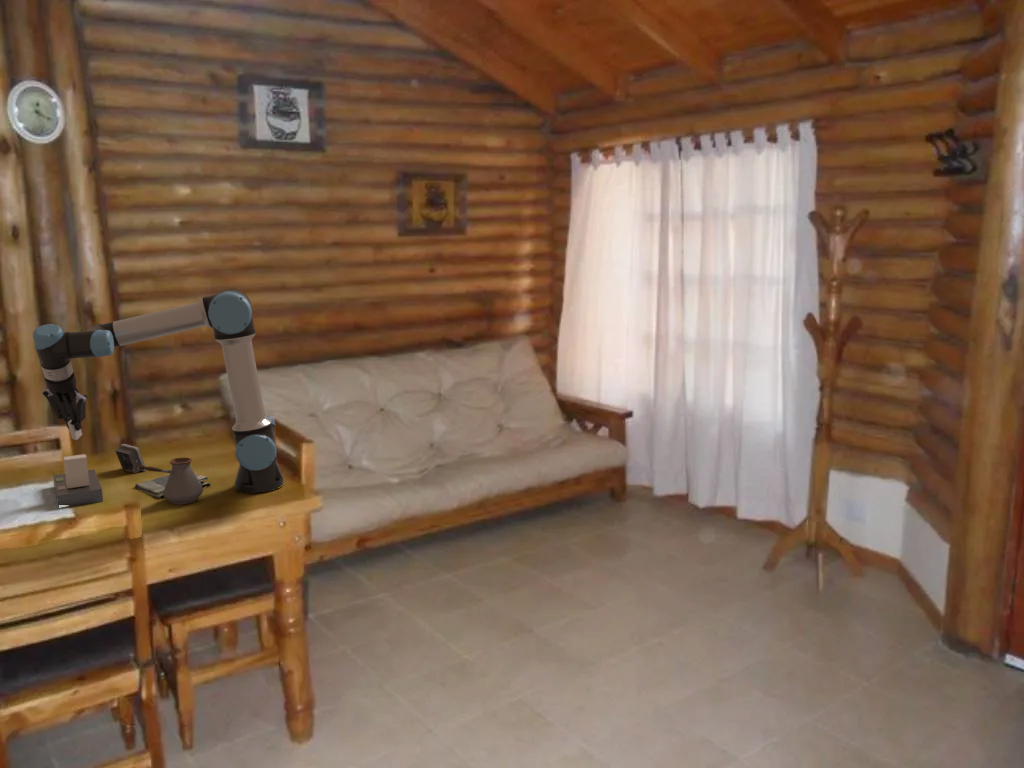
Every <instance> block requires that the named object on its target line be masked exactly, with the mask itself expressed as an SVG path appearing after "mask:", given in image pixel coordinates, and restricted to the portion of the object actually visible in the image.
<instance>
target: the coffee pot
mask: <svg viewBox="0 0 1024 768" xmlns="http://www.w3.org/2000/svg"><path fill="white" fill-rule="evenodd" d="M192 461H193V459H192V458H191V457H176V458H172V459H171V460H169V464H170V465H171V467H172V468H171V470H170V469H169V470H168V469H162V468H158V467H153V466H146V465H145V466H146V467H145V466H135V467H136V468H138V470H139V469H140V468H141V469H142V470H144V469H145V470H146V471H149V472H157V473H165V474H168V475H169V478H168V481H167V484H166V486H165V489H164V492H163V496H164V497H165V498H164V499H166V500H167V501H168V502H170V503H171V504H173V505H187V503H188V504H191V503H194V502H196V501H197V500H198V498H200V497H201V496H202V494H203V491H204V488H202V486H201V484H200V482H199V481H198V479H197V477H196V475H195V474H196V473H195V472H194V469H192V467H191V463H192ZM135 467H134V468H135ZM134 468H133V469H132V470H133V471H134ZM137 473H139V472H138V471H137ZM137 473H136V472H135V473H134V474H137Z"/></svg>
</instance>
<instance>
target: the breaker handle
mask: <svg viewBox="0 0 1024 768" xmlns="http://www.w3.org/2000/svg"><path fill="white" fill-rule="evenodd" d="M63 464H64V473H65V475H66V484H67V488H74V487H81V486H88V485H89V476H88V470H89V469H88V468H89V467H88V457H87V455H86V454H85V453H84V454H76V455H68V456H67V455H66V456H63Z"/></svg>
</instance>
